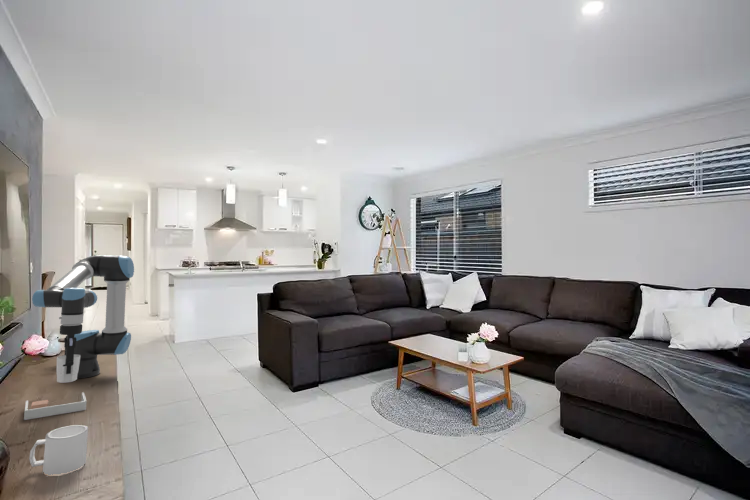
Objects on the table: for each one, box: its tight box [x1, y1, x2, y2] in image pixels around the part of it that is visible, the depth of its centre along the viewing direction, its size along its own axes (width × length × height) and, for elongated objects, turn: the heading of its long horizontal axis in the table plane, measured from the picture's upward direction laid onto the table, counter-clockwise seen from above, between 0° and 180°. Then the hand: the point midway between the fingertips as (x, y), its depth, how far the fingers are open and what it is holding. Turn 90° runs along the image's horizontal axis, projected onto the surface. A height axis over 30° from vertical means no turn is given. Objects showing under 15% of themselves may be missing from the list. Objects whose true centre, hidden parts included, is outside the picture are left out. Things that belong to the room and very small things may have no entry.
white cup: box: [56, 354, 80, 384], centre depth 164 cm, size 8×8×10 cm
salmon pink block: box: [30, 399, 49, 409], centre depth 157 cm, size 5×5×4 cm
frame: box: [23, 392, 88, 421], centre depth 160 cm, size 13×19×4 cm
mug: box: [28, 424, 89, 475], centre depth 117 cm, size 14×10×11 cm
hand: (67, 378), depth 163 cm, fingers closed on white cup, 7 cm apart
